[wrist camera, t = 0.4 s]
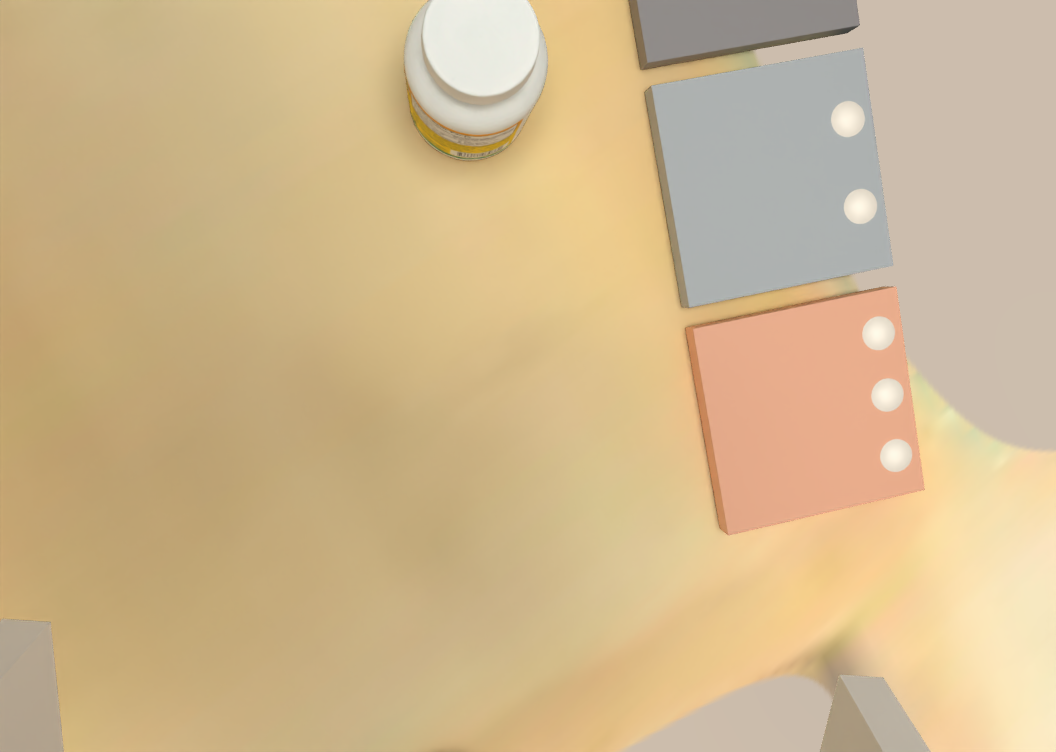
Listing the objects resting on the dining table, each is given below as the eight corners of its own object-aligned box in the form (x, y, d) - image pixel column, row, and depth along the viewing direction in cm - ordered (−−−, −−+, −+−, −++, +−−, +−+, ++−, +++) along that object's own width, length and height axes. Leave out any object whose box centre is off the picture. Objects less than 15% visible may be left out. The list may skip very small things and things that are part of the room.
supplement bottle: (476, 186, 38) (490, 152, 28) (383, 106, 37) (365, 43, 27) (552, 94, 38) (592, 29, 28) (460, 12, 37) (469, -83, 27)
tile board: (600, -162, 37) (606, -177, 36) (814, -194, 38) (827, -210, 36) (719, 528, 41) (728, 535, 40) (910, 484, 42) (925, 489, 40)
